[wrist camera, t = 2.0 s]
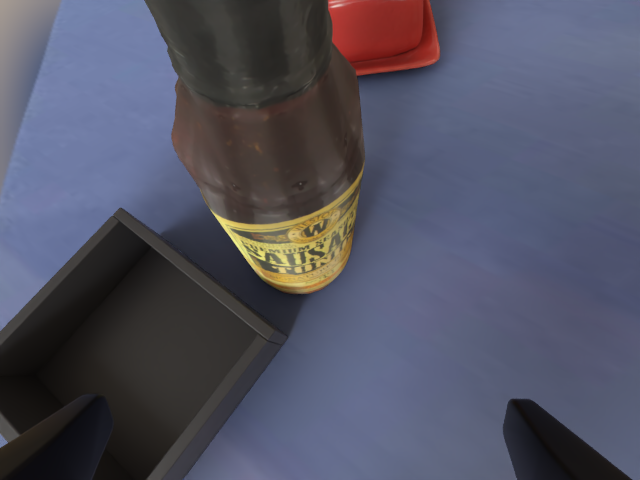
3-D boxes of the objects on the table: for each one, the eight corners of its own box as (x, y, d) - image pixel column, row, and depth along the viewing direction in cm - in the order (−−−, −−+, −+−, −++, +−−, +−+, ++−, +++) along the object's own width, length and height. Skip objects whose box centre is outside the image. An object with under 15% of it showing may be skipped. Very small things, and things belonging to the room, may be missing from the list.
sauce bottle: (276, 315, 22) (-85, 42, 3) (240, 229, 24) (-114, -241, 5) (372, 270, 23) (509, -179, 4) (329, 189, 25) (286, -360, 6)
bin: (157, 513, 19) (104, 555, 15) (28, 377, 22) (-48, 379, 18) (289, 337, 22) (275, 330, 18) (158, 234, 24) (119, 206, 20)
